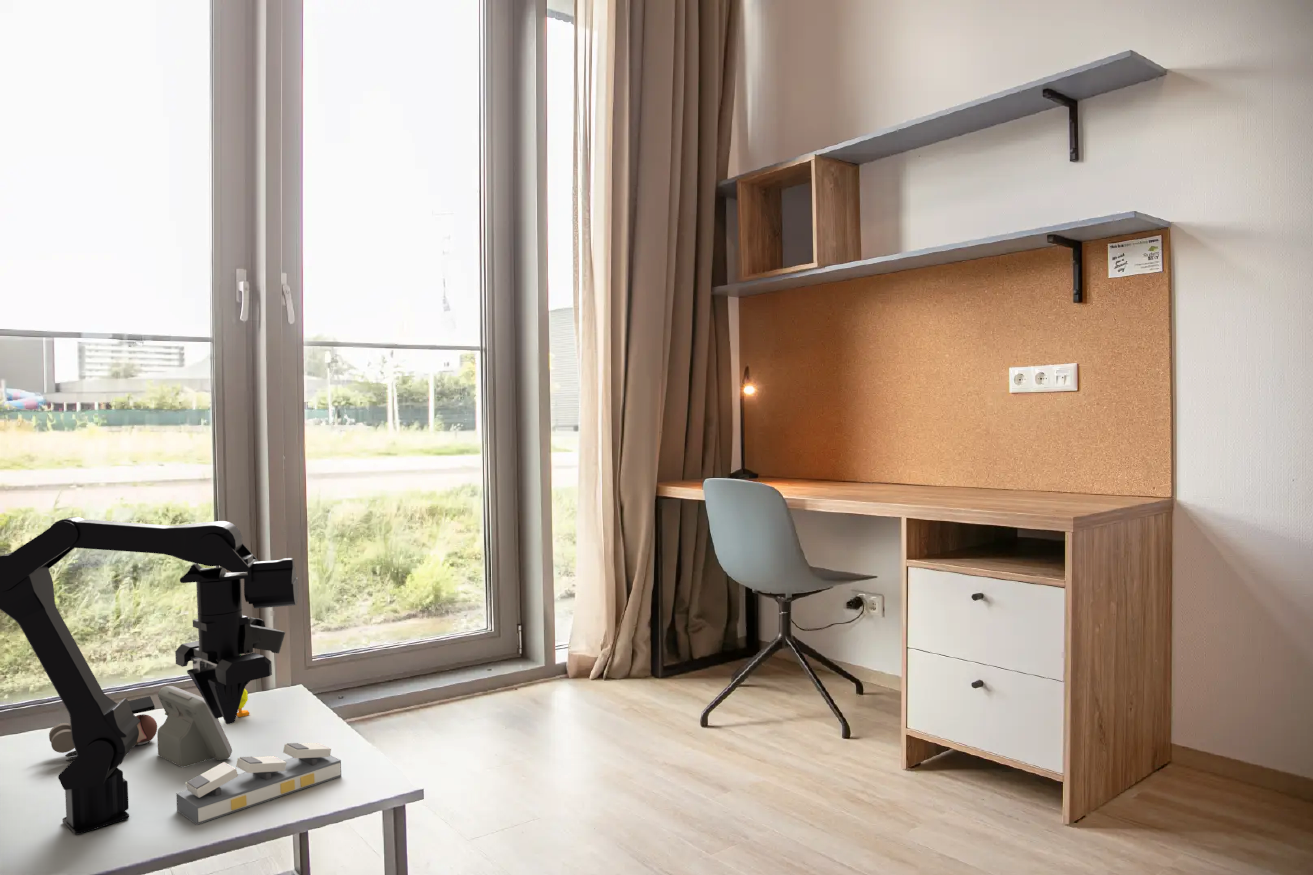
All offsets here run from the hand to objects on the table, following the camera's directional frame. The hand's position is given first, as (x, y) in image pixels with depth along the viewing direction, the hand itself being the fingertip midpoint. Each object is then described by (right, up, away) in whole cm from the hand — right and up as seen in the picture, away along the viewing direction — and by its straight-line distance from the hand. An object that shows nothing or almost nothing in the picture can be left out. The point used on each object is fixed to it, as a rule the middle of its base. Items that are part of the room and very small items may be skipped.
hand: (224, 720), depth 128 cm
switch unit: (+4, -12, +4) cm, 13 cm away
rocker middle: (+4, -8, +4) cm, 9 cm away
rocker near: (-1, -8, -1) cm, 8 cm away
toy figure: (-16, -12, +41) cm, 45 cm away
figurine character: (-31, -13, +24) cm, 41 cm away
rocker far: (+8, -7, +9) cm, 14 cm away
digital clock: (-15, -12, +21) cm, 28 cm away
